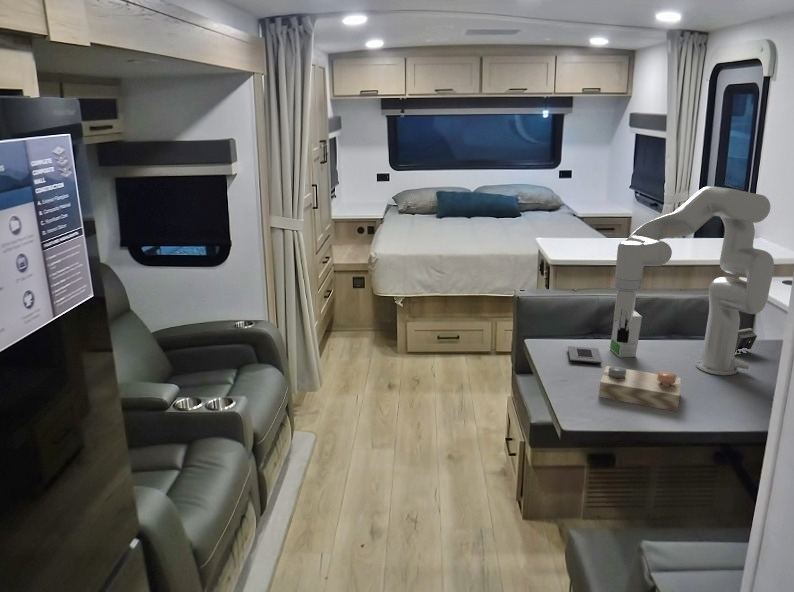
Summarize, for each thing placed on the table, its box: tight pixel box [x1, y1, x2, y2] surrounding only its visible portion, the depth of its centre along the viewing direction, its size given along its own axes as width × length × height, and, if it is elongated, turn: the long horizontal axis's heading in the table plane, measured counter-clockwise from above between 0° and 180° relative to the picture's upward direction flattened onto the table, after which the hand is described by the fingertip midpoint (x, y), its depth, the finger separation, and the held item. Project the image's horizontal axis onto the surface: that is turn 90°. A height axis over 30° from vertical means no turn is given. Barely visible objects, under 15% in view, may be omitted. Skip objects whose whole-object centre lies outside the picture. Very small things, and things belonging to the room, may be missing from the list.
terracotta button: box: [657, 371, 677, 386], centre depth 192 cm, size 5×5×6 cm
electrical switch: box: [735, 327, 758, 352], centre depth 230 cm, size 9×5×9 cm, turn 113°
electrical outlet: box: [567, 345, 603, 365], centre depth 225 cm, size 13×10×2 cm
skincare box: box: [609, 310, 643, 358], centre depth 228 cm, size 8×7×16 cm
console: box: [598, 365, 682, 412], centre depth 195 cm, size 22×14×5 cm, turn 66°
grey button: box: [608, 365, 627, 378], centre depth 198 cm, size 5×5×6 cm
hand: (622, 341), depth 194 cm, fingers closed
